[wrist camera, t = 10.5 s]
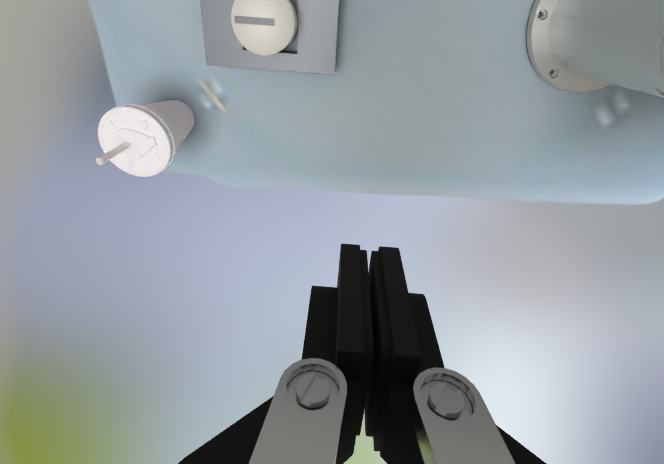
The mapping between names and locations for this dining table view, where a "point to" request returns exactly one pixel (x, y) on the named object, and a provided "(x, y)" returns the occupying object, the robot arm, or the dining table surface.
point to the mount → (299, 56)
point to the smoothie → (144, 135)
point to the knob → (264, 24)
